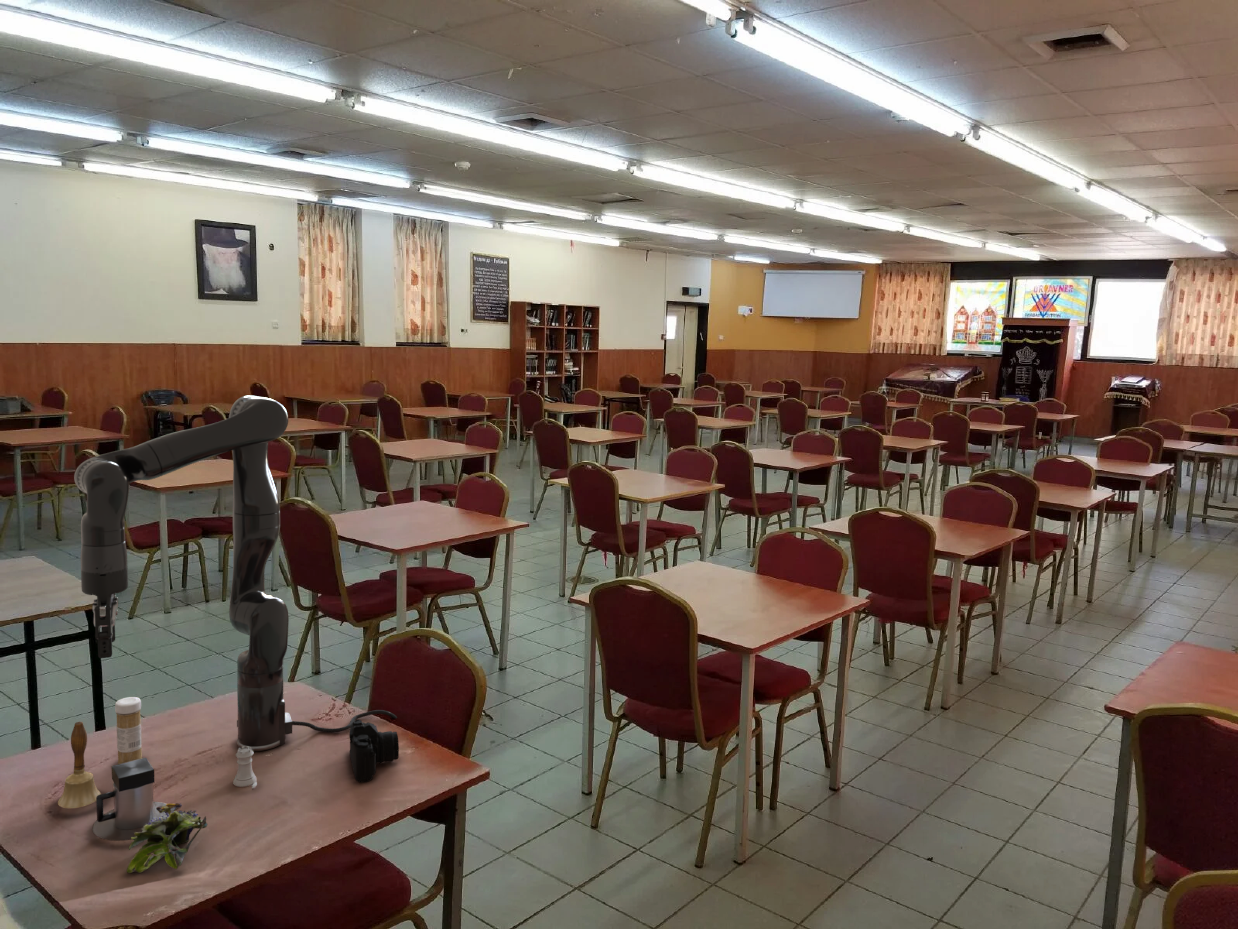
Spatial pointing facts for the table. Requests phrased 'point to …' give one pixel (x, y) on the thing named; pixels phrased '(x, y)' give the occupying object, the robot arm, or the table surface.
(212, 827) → the table surface
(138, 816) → the black-lidded handled container
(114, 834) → the disc
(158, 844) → the passion flower
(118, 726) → the sprinkles bottle
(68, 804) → the hand bell
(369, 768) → the film camera
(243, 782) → the rook chess piece
